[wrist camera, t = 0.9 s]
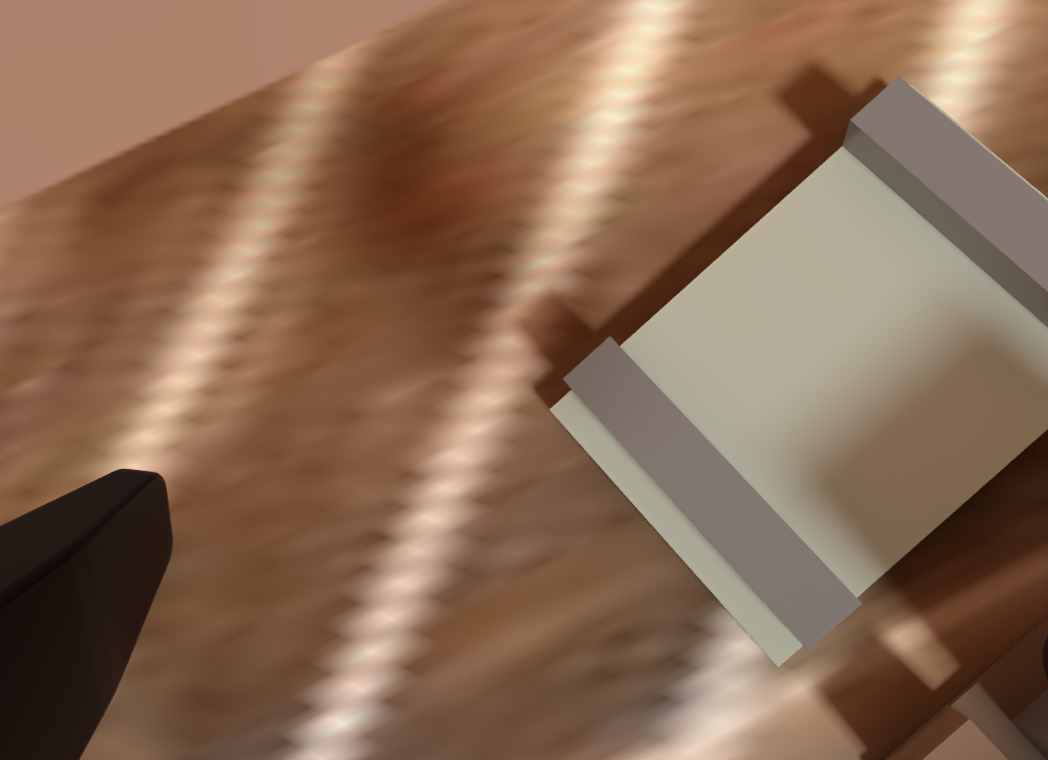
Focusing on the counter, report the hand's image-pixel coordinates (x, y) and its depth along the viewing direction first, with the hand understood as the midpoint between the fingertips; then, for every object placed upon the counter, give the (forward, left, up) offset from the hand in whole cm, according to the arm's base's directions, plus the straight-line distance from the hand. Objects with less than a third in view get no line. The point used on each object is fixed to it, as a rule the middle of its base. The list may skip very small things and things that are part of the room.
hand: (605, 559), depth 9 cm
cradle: (+1, -6, -14) cm, 15 cm away
